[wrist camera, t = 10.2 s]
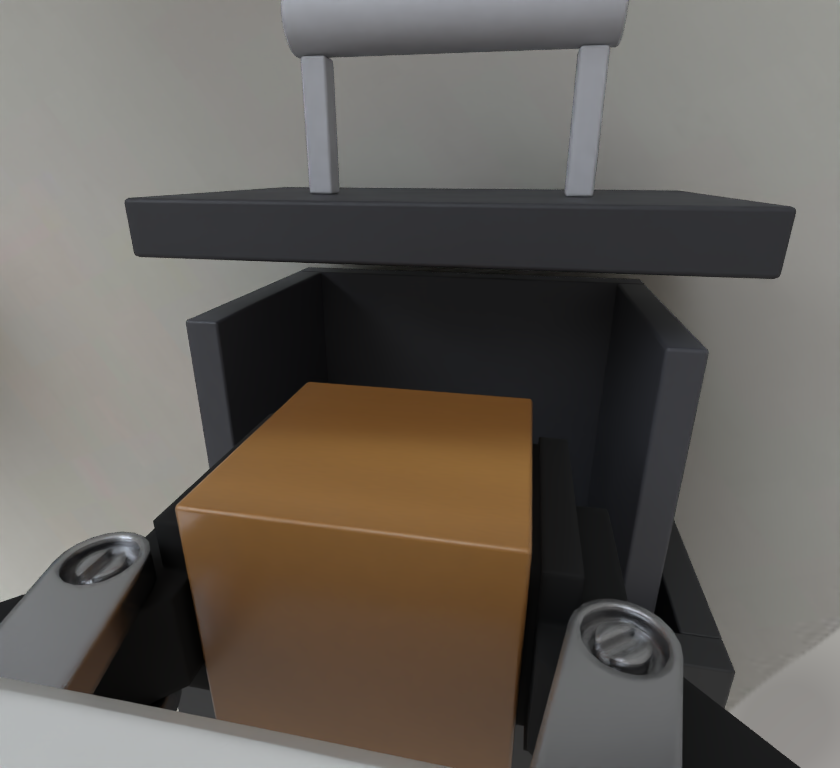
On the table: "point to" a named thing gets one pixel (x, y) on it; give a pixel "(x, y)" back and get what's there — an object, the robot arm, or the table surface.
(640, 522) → the pull-out drawer
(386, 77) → the table surface
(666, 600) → the drawer cabinet
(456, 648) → the block
